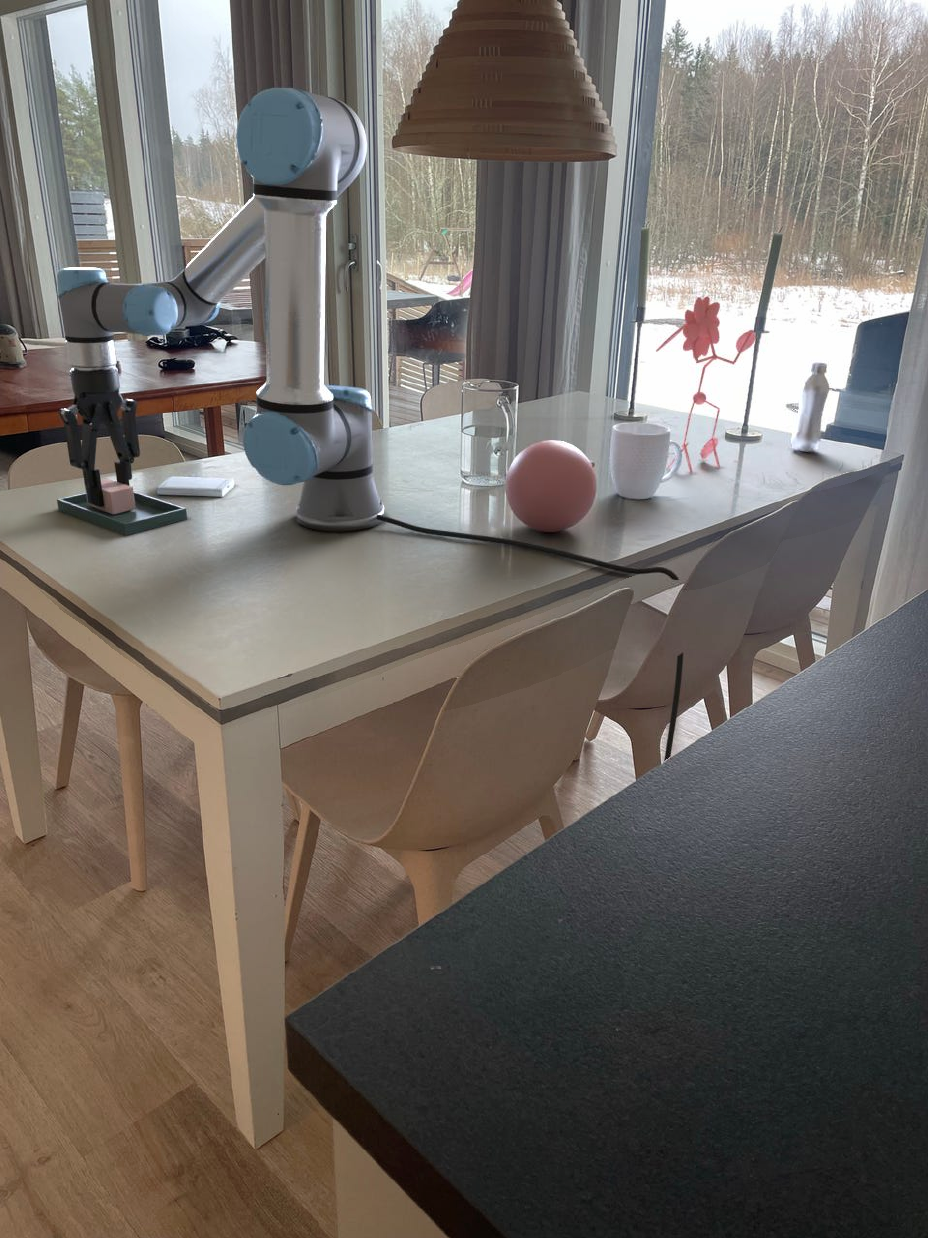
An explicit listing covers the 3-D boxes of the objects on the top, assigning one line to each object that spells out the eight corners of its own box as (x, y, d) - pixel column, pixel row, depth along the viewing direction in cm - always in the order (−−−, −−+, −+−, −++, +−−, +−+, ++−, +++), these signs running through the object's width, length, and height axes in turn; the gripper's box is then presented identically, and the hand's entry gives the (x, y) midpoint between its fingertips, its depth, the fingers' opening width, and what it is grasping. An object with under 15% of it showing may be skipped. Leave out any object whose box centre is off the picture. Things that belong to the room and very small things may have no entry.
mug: (661, 483, 189) (669, 419, 184) (691, 498, 180) (700, 431, 174) (596, 489, 184) (602, 423, 179) (623, 505, 175) (630, 436, 170)
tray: (187, 519, 162) (186, 508, 161) (126, 535, 153) (125, 524, 152) (118, 496, 174) (117, 485, 173) (58, 510, 165) (56, 499, 164)
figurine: (746, 463, 206) (771, 297, 192) (668, 479, 192) (689, 301, 178) (692, 449, 218) (712, 291, 203) (615, 464, 203) (630, 295, 189)
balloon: (626, 525, 164) (635, 438, 158) (553, 550, 151) (559, 457, 144) (559, 505, 174) (564, 423, 167) (485, 528, 161) (488, 440, 154)
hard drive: (156, 487, 174) (221, 489, 173) (171, 475, 181) (233, 477, 181) (157, 495, 175) (222, 497, 174) (172, 483, 182) (234, 485, 182)
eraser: (136, 508, 164) (133, 486, 163) (112, 514, 161) (109, 492, 159) (110, 499, 169) (107, 478, 167) (87, 505, 165) (83, 483, 164)
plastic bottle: (821, 450, 219) (837, 363, 211) (814, 455, 214) (830, 366, 206) (793, 446, 222) (808, 360, 214) (786, 451, 217) (800, 364, 209)
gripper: (127, 358, 163) (142, 487, 173) (30, 369, 150) (53, 508, 160) (152, 363, 159) (167, 495, 169) (55, 375, 146) (77, 517, 156)
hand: (111, 501), depth 164 cm, fingers closed on eraser, 5 cm apart
